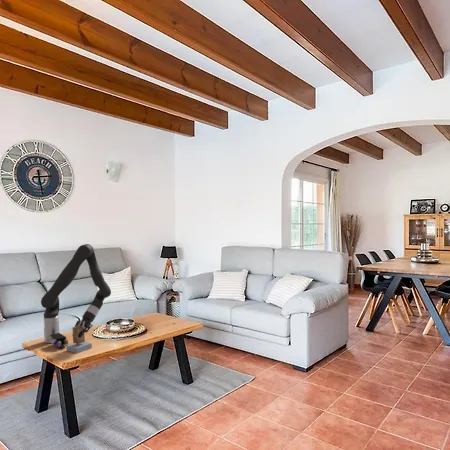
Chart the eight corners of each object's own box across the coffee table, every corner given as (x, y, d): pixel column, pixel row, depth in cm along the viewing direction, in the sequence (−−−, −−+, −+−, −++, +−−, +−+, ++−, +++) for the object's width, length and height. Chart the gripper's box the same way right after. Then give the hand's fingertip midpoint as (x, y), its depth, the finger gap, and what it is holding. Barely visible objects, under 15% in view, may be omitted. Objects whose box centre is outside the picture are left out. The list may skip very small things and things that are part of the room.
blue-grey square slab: (66, 350, 245) (66, 345, 245) (81, 345, 254) (81, 340, 254) (77, 353, 239) (76, 348, 239) (91, 347, 248) (91, 343, 248)
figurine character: (69, 349, 251) (59, 342, 261) (69, 338, 250) (59, 331, 260) (58, 352, 246) (49, 344, 256) (58, 341, 245) (49, 333, 255)
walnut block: (73, 342, 245) (72, 327, 245) (79, 340, 250) (79, 325, 249) (78, 344, 243) (77, 328, 242) (84, 341, 247) (84, 326, 247)
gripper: (80, 309, 256) (65, 332, 246) (94, 311, 248) (79, 335, 238) (87, 315, 260) (73, 338, 251) (101, 317, 252) (87, 341, 243)
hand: (76, 336), depth 244 cm, fingers closed on walnut block, 5 cm apart
